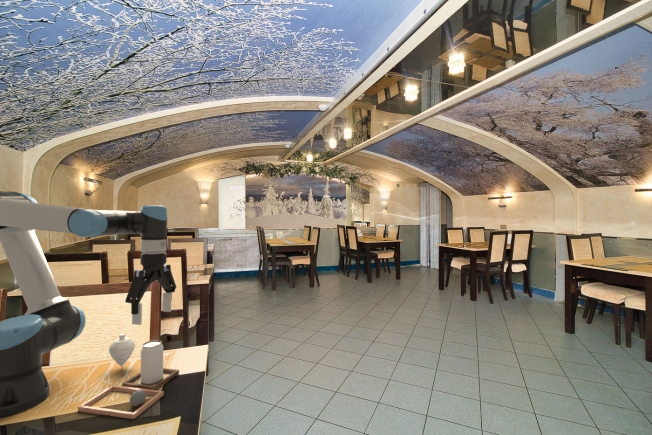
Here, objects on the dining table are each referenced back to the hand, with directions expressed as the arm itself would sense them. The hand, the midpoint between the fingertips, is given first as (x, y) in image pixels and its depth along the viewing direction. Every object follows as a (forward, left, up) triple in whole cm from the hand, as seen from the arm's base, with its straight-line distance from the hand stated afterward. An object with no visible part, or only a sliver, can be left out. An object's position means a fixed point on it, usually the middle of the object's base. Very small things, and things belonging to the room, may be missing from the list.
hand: (152, 317), depth 105 cm
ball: (+6, -13, -21) cm, 25 cm away
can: (0, 0, -21) cm, 21 cm away
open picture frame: (+1, -13, -21) cm, 24 cm away
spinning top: (-16, +5, -21) cm, 27 cm away
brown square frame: (0, 0, -21) cm, 21 cm away
